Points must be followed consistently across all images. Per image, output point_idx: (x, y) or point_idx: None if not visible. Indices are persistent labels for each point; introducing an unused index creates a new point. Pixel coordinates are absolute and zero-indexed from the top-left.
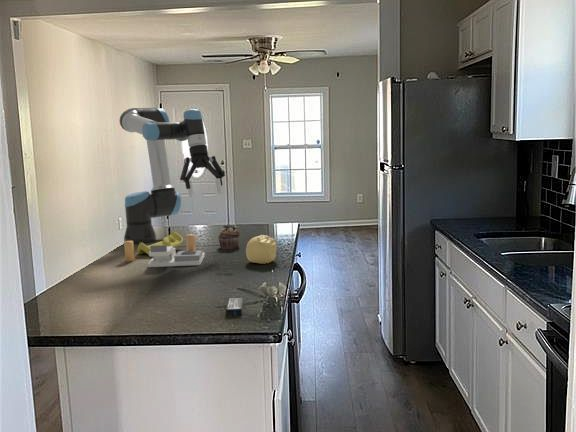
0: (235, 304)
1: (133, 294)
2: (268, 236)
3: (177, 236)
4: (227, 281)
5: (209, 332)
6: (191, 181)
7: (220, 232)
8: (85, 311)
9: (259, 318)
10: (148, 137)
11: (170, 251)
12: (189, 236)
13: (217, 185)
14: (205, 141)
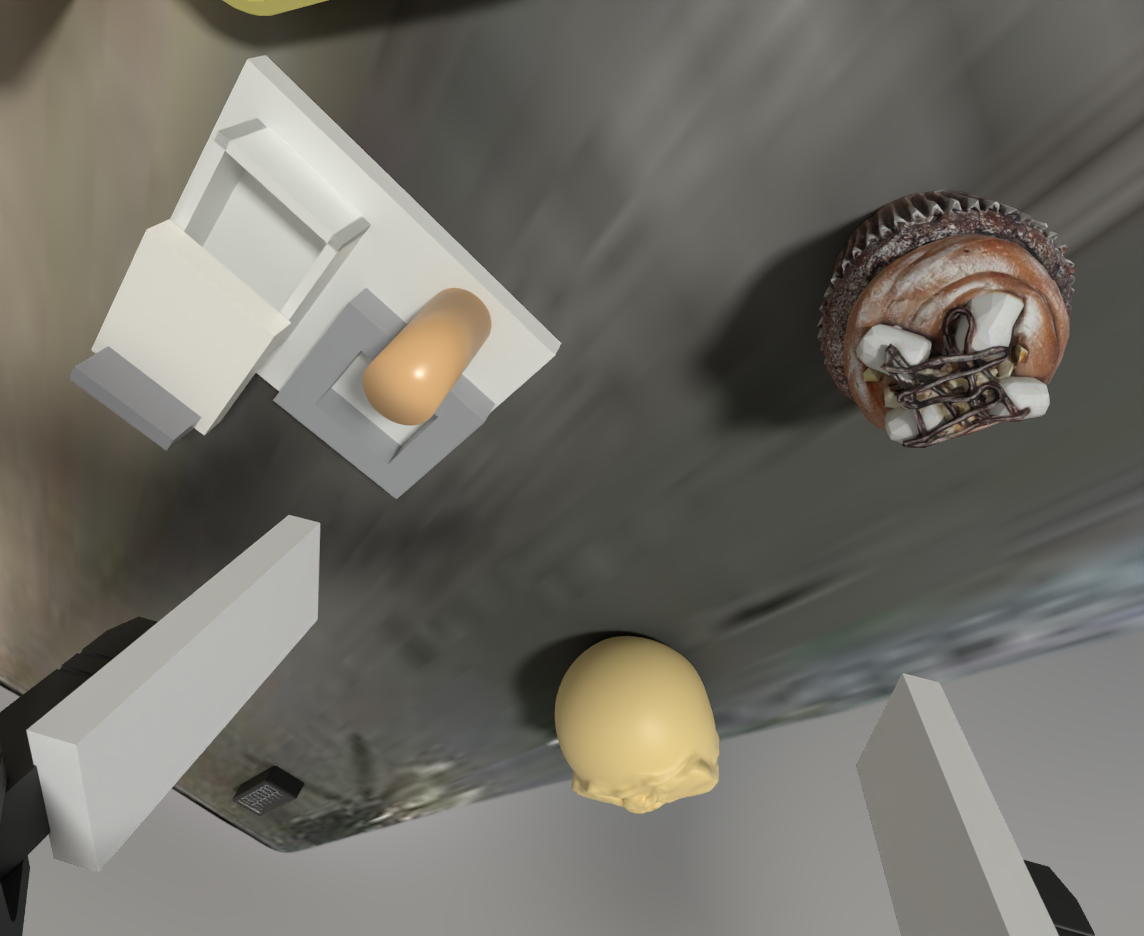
0: (261, 802)
1: (64, 554)
2: (643, 812)
3: None
4: (367, 689)
5: (186, 793)
6: (120, 845)
7: (860, 310)
8: None
9: (289, 824)
10: None
11: (239, 391)
12: (380, 408)
13: (943, 869)
14: None
